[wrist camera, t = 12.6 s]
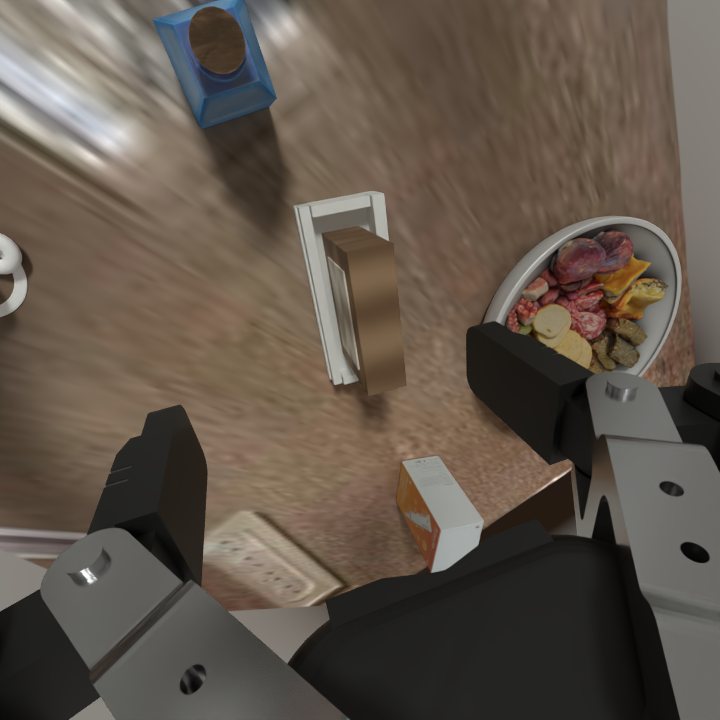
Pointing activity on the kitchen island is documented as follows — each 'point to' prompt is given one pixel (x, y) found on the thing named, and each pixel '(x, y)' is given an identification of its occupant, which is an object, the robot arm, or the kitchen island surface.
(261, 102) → the perfume bottle
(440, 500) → the small box
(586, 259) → the bowl
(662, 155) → the kitchen island surface
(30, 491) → the kitchen island surface
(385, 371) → the oak frame
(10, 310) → the teacup and saucer
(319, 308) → the frame
